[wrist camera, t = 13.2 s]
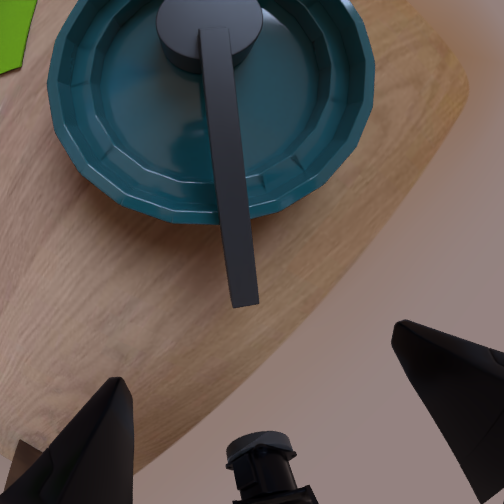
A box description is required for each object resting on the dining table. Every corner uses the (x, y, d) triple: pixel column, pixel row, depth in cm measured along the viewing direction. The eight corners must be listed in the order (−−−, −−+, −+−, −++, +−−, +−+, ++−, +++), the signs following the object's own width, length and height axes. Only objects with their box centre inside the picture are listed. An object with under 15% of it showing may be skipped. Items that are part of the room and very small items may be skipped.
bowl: (380, 82, 15) (419, 73, 12) (224, 257, 17) (233, 288, 14) (206, -59, 10) (211, -94, 6) (34, 109, 12) (-2, 105, 8)
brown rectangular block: (60, 462, 23) (49, 527, 13) (52, 472, 24) (42, 530, 14) (19, 439, 21) (0, 503, 11) (15, 451, 22) (0, 508, 12)
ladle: (159, 6, 11) (151, -30, 7) (249, -2, 12) (263, -37, 8) (191, 281, 16) (190, 315, 13) (278, 267, 17) (300, 296, 13)
